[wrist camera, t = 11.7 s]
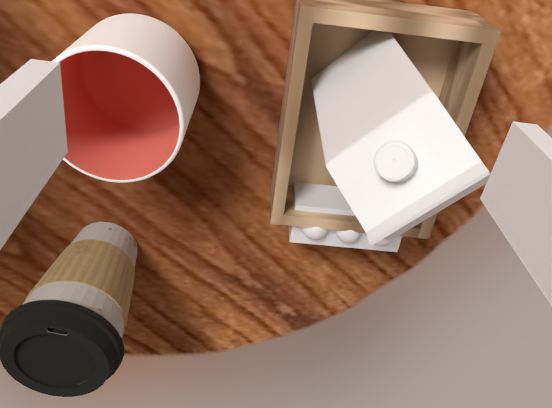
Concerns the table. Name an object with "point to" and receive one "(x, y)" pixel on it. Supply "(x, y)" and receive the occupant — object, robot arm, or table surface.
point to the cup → (127, 97)
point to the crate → (336, 41)
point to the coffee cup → (74, 316)
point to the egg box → (333, 203)
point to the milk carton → (390, 139)
